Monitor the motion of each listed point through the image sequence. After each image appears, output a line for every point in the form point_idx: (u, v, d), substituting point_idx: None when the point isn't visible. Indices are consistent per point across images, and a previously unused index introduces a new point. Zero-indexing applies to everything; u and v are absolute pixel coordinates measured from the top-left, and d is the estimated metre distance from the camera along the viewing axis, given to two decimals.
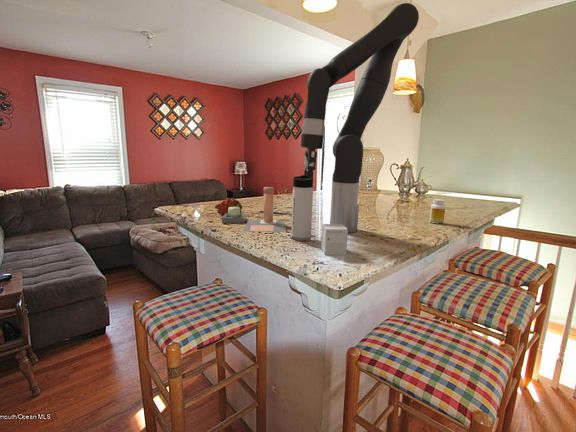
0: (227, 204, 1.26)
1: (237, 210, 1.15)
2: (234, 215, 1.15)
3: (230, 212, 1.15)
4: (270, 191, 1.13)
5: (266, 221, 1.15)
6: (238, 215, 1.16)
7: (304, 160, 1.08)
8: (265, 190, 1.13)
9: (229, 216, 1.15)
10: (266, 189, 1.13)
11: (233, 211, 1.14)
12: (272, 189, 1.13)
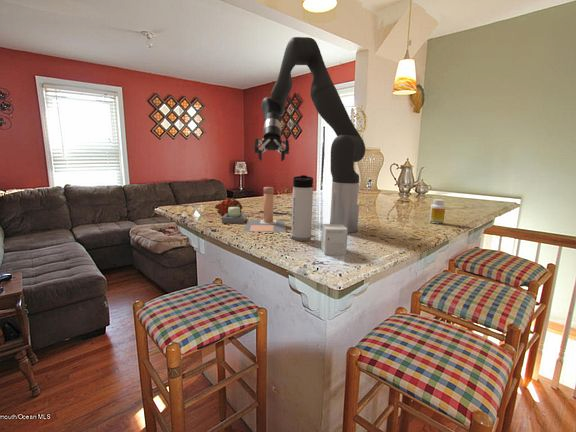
0: (227, 204, 1.26)
1: (237, 210, 1.15)
2: (234, 215, 1.15)
3: (230, 212, 1.15)
4: (270, 191, 1.13)
5: (266, 221, 1.15)
6: (238, 215, 1.16)
7: None
8: (265, 190, 1.13)
9: (229, 216, 1.15)
10: (266, 189, 1.13)
11: (233, 211, 1.14)
12: (272, 189, 1.13)
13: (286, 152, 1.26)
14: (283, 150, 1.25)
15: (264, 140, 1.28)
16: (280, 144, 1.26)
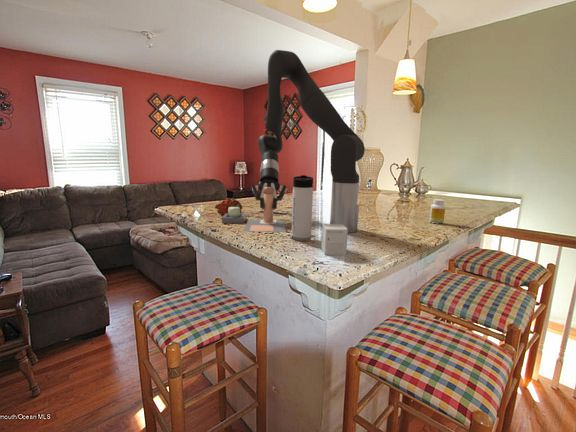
0: (227, 204, 1.26)
1: (237, 210, 1.15)
2: (234, 215, 1.15)
3: (230, 212, 1.15)
4: (270, 191, 1.13)
5: (266, 221, 1.15)
6: (238, 215, 1.16)
7: None
8: (265, 190, 1.13)
9: (229, 216, 1.15)
10: (266, 189, 1.13)
11: (233, 211, 1.14)
12: (272, 189, 1.13)
13: (278, 199, 1.16)
14: (275, 197, 1.15)
15: (261, 184, 1.19)
16: (275, 190, 1.16)
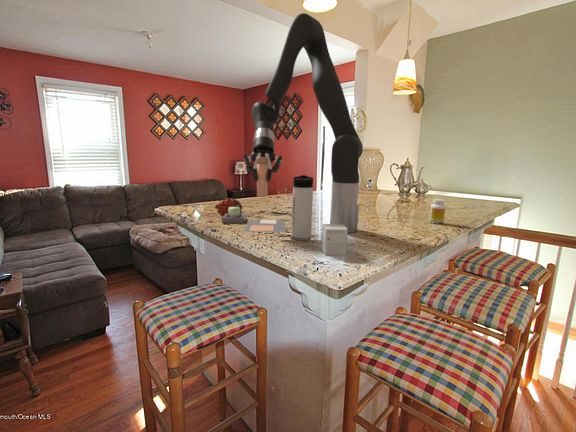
0: (227, 204, 1.26)
1: (237, 210, 1.15)
2: (234, 215, 1.15)
3: (230, 212, 1.15)
4: (264, 161, 1.01)
5: (259, 195, 1.03)
6: (238, 215, 1.16)
7: None
8: (258, 160, 1.01)
9: (229, 216, 1.15)
10: (259, 158, 1.01)
11: (233, 211, 1.14)
12: (266, 158, 1.01)
13: (273, 170, 1.04)
14: (270, 168, 1.03)
15: (254, 154, 1.07)
16: (269, 160, 1.04)
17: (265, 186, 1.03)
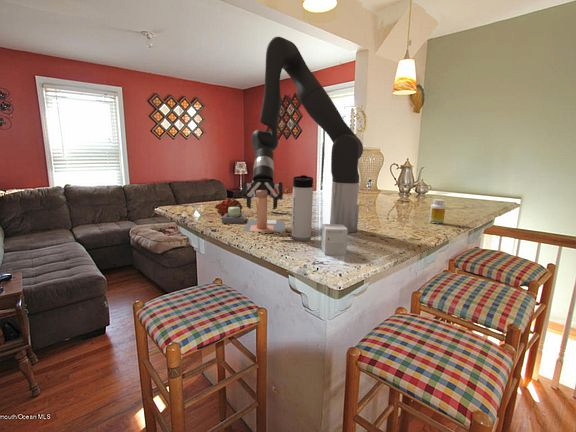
0: (227, 204, 1.26)
1: (237, 210, 1.15)
2: (234, 215, 1.15)
3: (230, 212, 1.15)
4: (263, 195, 1.03)
5: (259, 227, 1.05)
6: (238, 215, 1.16)
7: (268, 194, 1.10)
8: (258, 193, 1.03)
9: (229, 216, 1.15)
10: (259, 192, 1.03)
11: (233, 211, 1.14)
12: (265, 192, 1.03)
13: (279, 198, 1.07)
14: (275, 196, 1.06)
15: (254, 183, 1.08)
16: (272, 188, 1.07)
17: (265, 219, 1.05)
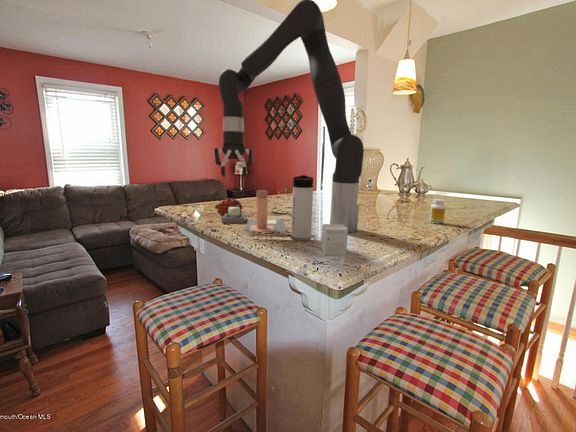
0: (227, 204, 1.26)
1: (237, 210, 1.15)
2: (234, 215, 1.15)
3: (230, 212, 1.15)
4: (264, 195, 1.03)
5: (259, 227, 1.05)
6: (238, 215, 1.16)
7: None
8: (258, 193, 1.03)
9: (229, 216, 1.15)
10: (259, 192, 1.03)
11: (233, 211, 1.14)
12: (266, 192, 1.04)
13: (248, 165, 1.14)
14: (244, 166, 1.13)
15: (224, 149, 1.11)
16: (242, 158, 1.11)
17: (265, 219, 1.05)
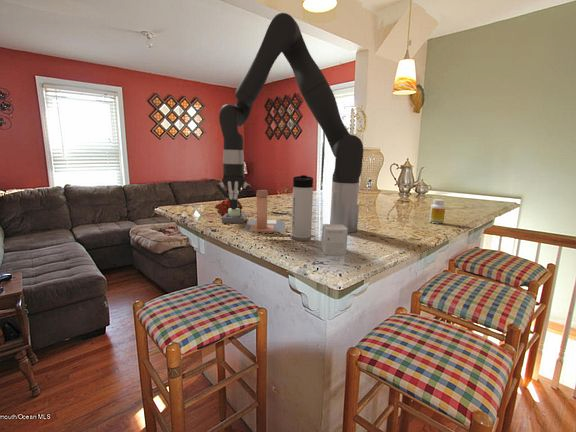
0: (227, 204, 1.26)
1: (237, 211, 1.15)
2: (234, 216, 1.15)
3: (230, 213, 1.15)
4: (264, 195, 1.03)
5: (259, 227, 1.05)
6: (238, 216, 1.16)
7: None
8: (258, 193, 1.03)
9: None
10: (259, 192, 1.03)
11: (233, 213, 1.15)
12: (266, 192, 1.03)
13: None
14: (235, 198, 1.14)
15: (224, 180, 1.13)
16: (237, 191, 1.13)
17: (265, 219, 1.05)
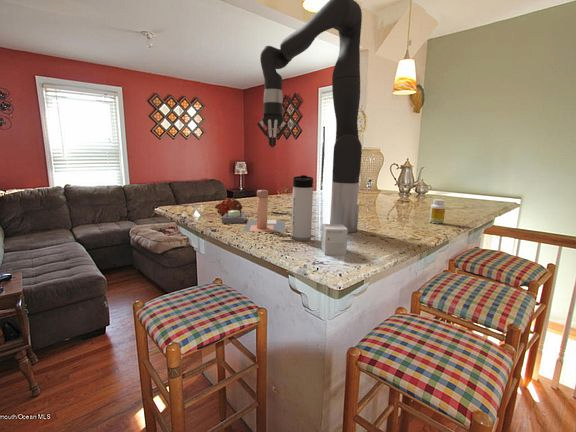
0: (227, 204, 1.26)
1: (237, 214, 1.15)
2: None
3: (230, 215, 1.15)
4: (264, 195, 1.03)
5: (259, 227, 1.05)
6: None
7: None
8: (258, 193, 1.03)
9: None
10: (259, 192, 1.03)
11: (233, 215, 1.15)
12: (266, 192, 1.04)
13: (277, 136, 1.25)
14: (274, 136, 1.24)
15: (265, 119, 1.23)
16: (276, 129, 1.23)
17: (265, 219, 1.05)
